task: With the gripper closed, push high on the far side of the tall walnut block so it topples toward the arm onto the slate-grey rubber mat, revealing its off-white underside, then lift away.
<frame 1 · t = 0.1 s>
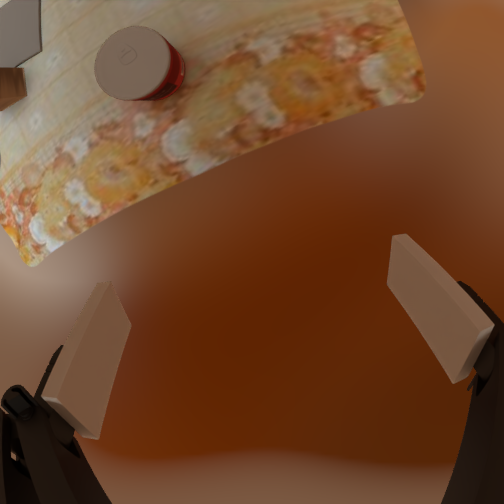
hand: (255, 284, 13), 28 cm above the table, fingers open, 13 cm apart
canned food: (156, 72, 31), on the table
walnut block: (12, 89, 27), on the table
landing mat: (8, 34, 22), on the table
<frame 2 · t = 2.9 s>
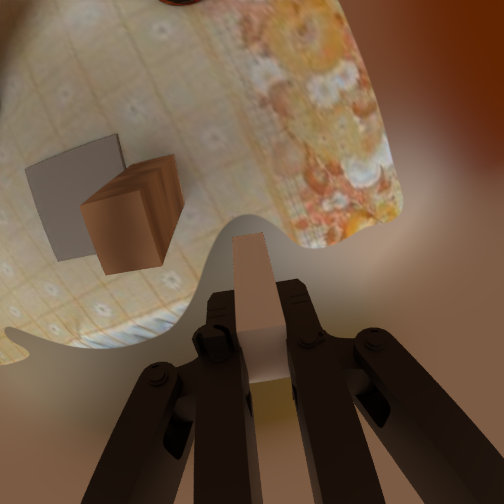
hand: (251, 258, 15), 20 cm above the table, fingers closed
walnut block: (158, 183, 32), on the table
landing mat: (81, 203, 32), on the table
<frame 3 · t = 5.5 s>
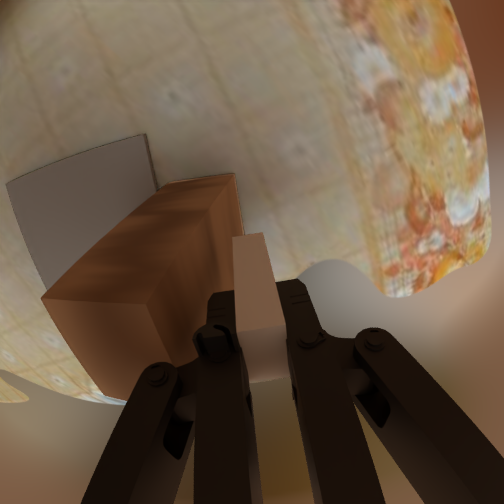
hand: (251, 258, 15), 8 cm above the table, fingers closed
walnut block: (208, 215, 22), on the table, tilted 12°
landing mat: (88, 236, 22), on the table
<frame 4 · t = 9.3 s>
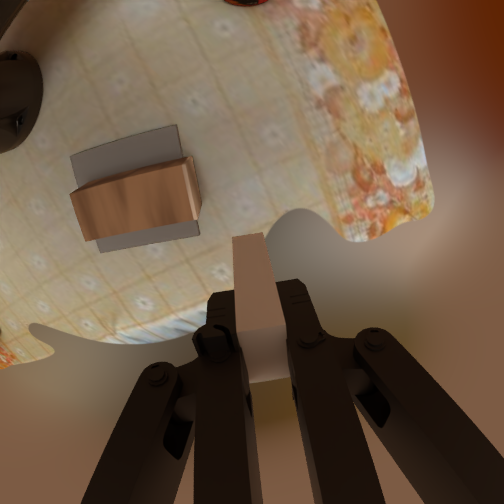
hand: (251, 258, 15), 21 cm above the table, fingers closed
walnut block: (194, 186, 31), point 3 cm above the table, tilted 90°, touching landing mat
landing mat: (132, 193, 34), on the table
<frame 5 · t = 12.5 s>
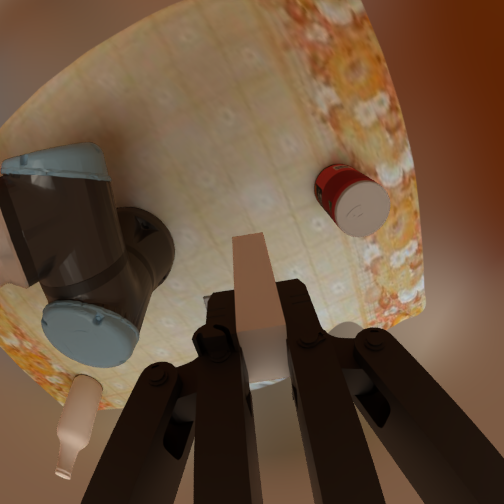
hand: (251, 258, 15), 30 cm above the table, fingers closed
canned food: (336, 185, 45), on the table
alcohol: (89, 383, 65), on the table
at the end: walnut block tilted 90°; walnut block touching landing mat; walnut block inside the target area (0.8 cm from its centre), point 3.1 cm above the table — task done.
